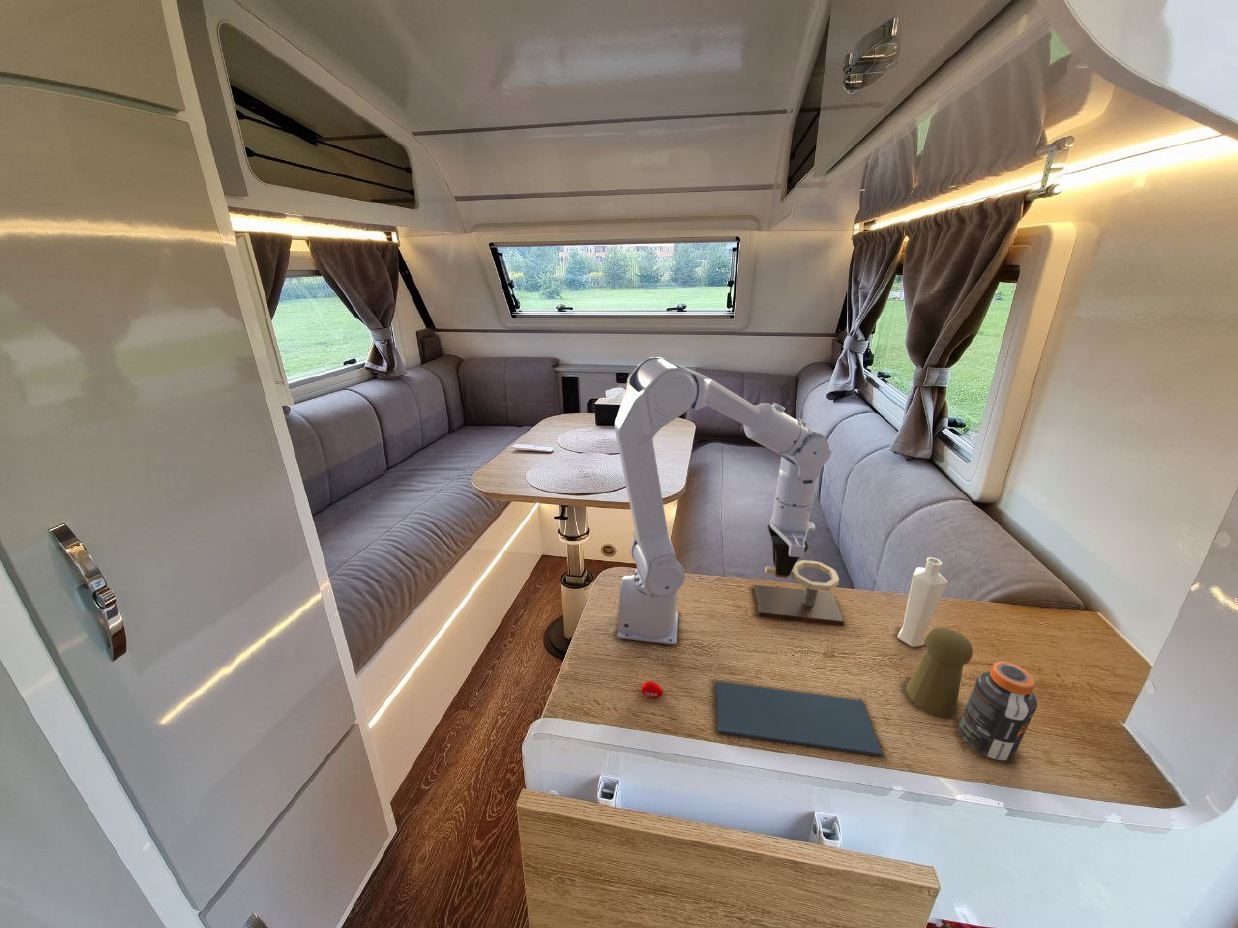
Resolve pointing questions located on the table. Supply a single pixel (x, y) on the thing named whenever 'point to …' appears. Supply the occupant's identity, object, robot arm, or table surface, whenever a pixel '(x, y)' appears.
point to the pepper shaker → (940, 672)
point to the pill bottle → (999, 711)
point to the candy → (652, 689)
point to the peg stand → (797, 604)
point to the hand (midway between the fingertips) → (781, 570)
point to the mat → (795, 718)
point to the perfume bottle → (922, 602)
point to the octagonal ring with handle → (806, 582)
